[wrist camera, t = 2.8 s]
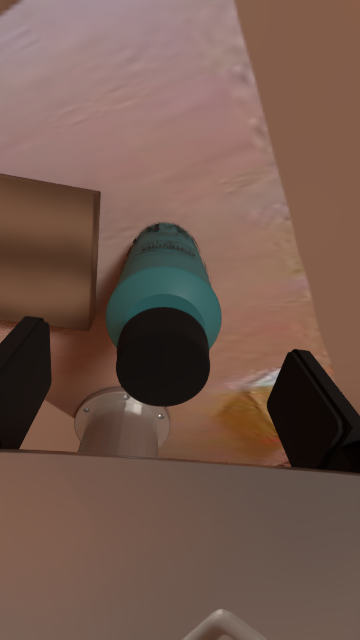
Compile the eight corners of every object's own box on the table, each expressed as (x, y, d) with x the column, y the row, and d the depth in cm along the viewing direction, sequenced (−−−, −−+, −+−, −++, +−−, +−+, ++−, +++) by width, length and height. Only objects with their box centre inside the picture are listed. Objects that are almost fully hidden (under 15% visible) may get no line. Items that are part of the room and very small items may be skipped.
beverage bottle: (201, 275, 31) (254, 420, 13) (139, 287, 31) (108, 445, 13) (191, 211, 28) (242, 284, 10) (123, 224, 28) (54, 320, 10)
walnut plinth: (94, 317, 32) (88, 330, 30) (-31, 301, 31) (-50, 314, 28) (100, 191, 26) (93, 194, 24) (-55, 163, 25) (-81, 162, 22)
